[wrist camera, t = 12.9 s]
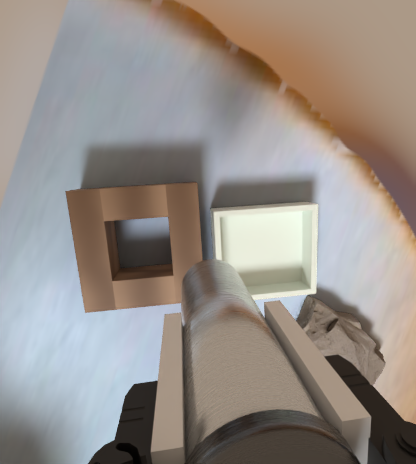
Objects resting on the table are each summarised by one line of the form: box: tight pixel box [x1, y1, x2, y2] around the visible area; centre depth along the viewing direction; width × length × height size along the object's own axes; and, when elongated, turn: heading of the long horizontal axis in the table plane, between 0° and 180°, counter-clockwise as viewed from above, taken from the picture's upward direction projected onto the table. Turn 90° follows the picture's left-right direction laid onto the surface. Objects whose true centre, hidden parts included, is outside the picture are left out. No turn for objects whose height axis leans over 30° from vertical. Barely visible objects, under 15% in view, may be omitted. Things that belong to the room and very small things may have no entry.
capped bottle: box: [181, 259, 361, 464], centre depth 12 cm, size 4×4×13 cm
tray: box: [210, 202, 318, 300], centre depth 31 cm, size 11×10×3 cm
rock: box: [296, 296, 385, 385], centre depth 35 cm, size 14×9×4 cm
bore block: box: [66, 182, 203, 313], centre depth 29 cm, size 12×12×4 cm
